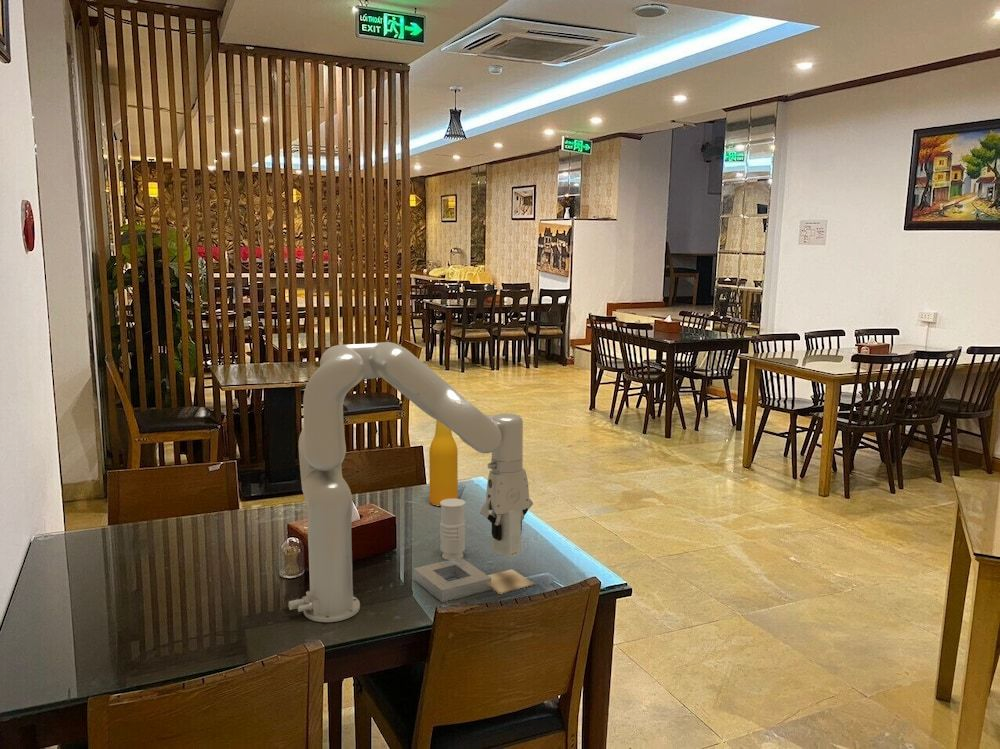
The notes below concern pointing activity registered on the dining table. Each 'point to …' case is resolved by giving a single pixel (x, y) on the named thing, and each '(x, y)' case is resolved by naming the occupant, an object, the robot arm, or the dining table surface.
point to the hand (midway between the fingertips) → (506, 535)
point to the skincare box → (509, 535)
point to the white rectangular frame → (464, 586)
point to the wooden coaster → (508, 581)
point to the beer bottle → (443, 465)
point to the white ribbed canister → (452, 528)
